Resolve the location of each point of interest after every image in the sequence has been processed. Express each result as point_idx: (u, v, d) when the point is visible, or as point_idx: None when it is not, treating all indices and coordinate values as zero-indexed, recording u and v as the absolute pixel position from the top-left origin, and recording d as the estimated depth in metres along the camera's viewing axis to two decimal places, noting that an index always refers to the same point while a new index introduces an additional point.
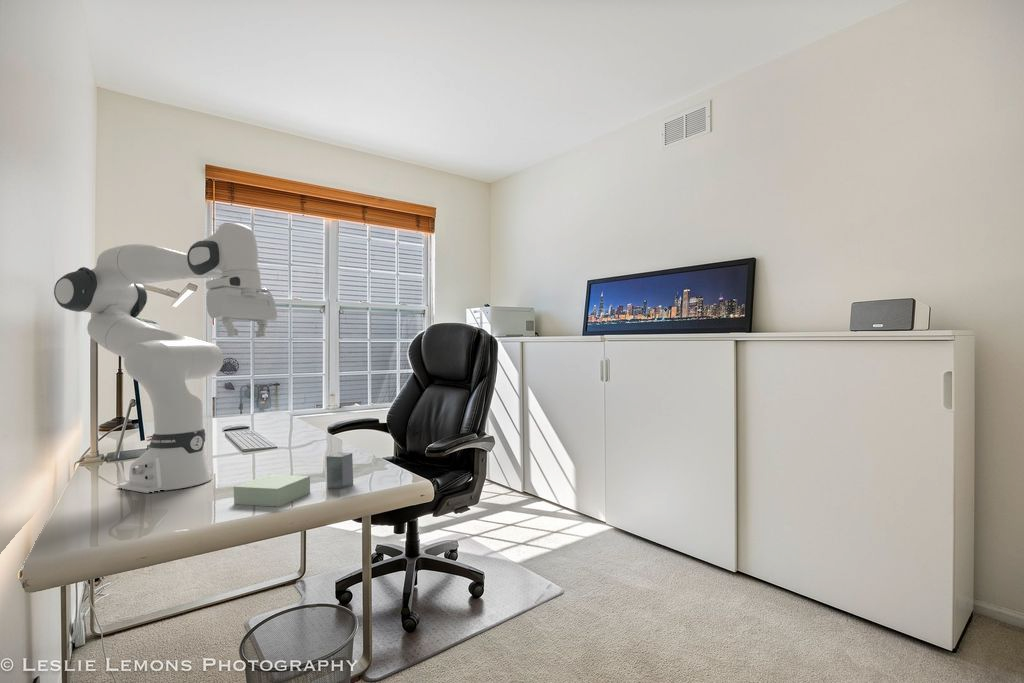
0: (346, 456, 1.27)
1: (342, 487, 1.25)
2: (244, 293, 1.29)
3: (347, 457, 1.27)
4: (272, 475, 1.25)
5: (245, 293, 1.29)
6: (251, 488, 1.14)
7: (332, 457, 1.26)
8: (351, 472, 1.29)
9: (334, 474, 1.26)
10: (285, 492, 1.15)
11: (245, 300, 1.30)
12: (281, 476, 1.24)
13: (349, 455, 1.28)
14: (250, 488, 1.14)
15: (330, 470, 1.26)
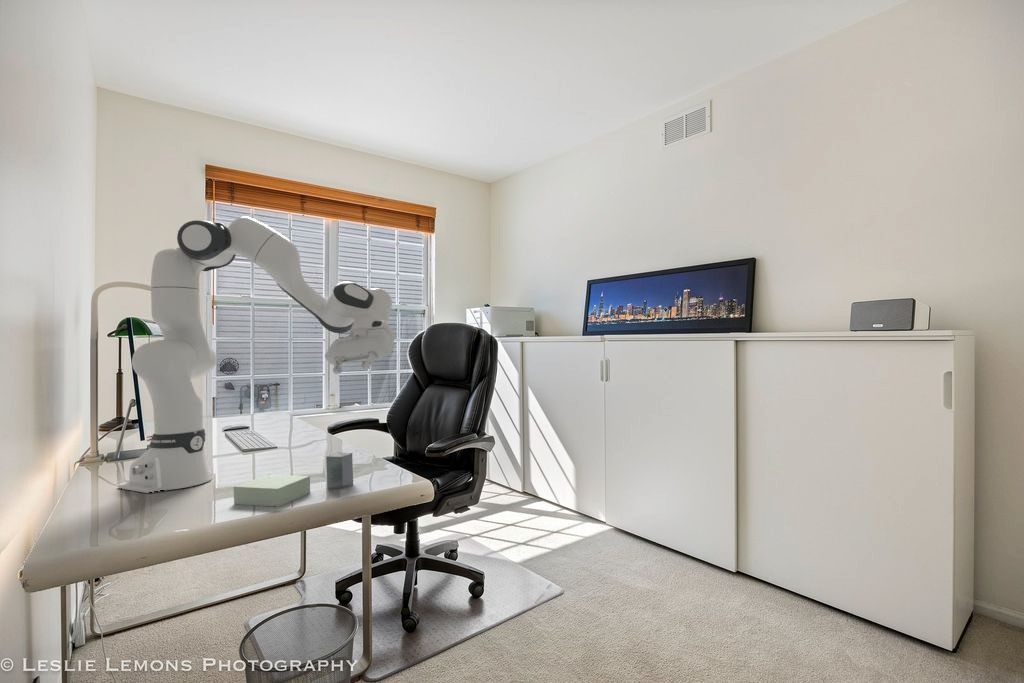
0: (346, 456, 1.27)
1: (342, 487, 1.25)
2: None
3: (347, 457, 1.27)
4: (272, 475, 1.25)
5: None
6: (251, 488, 1.14)
7: (332, 457, 1.26)
8: (351, 472, 1.29)
9: (334, 474, 1.26)
10: (285, 492, 1.15)
11: None
12: (281, 476, 1.24)
13: (349, 455, 1.28)
14: (250, 488, 1.14)
15: (330, 470, 1.26)
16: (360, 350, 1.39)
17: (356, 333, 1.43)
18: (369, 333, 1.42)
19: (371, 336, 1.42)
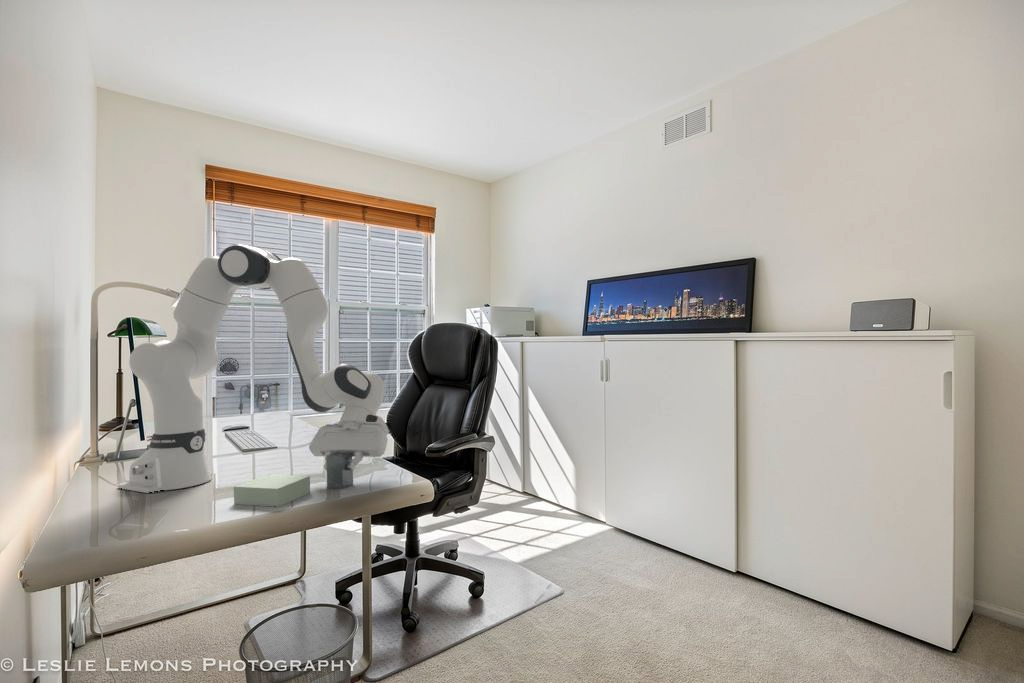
0: (346, 456, 1.27)
1: (342, 487, 1.25)
2: None
3: (347, 457, 1.27)
4: (272, 475, 1.25)
5: None
6: (251, 488, 1.14)
7: (332, 457, 1.26)
8: (351, 472, 1.29)
9: (334, 474, 1.26)
10: (285, 492, 1.15)
11: None
12: (281, 476, 1.24)
13: (349, 455, 1.28)
14: (250, 488, 1.14)
15: (330, 470, 1.26)
16: (352, 447, 1.29)
17: (347, 426, 1.33)
18: (362, 428, 1.33)
19: (364, 431, 1.33)
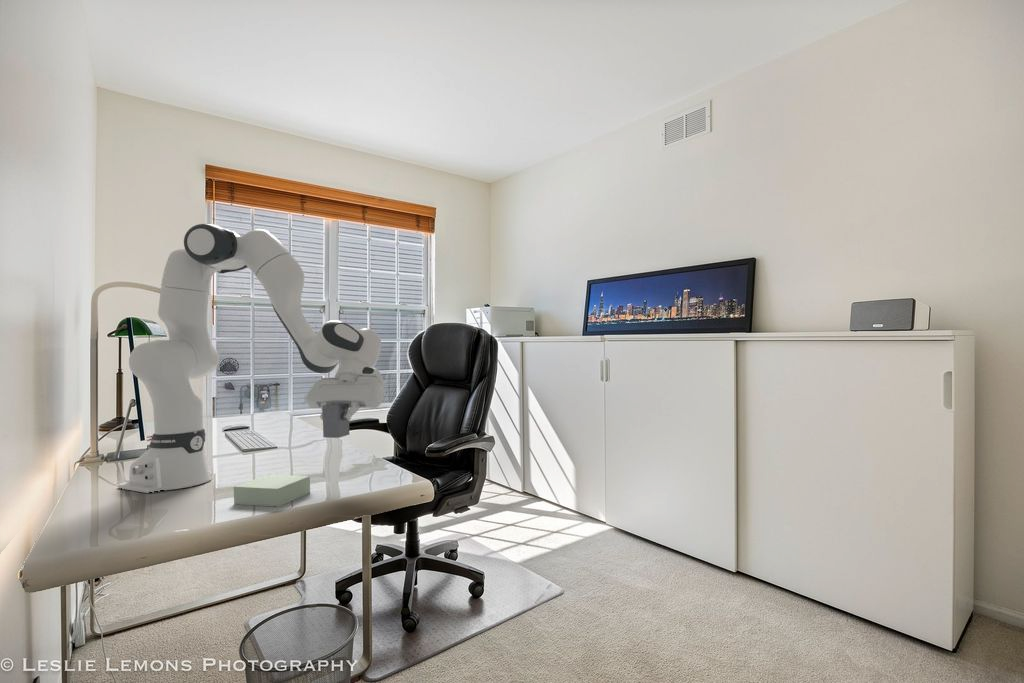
0: (342, 406, 1.27)
1: (338, 436, 1.25)
2: None
3: (343, 407, 1.27)
4: (272, 475, 1.25)
5: None
6: (251, 488, 1.14)
7: (328, 406, 1.26)
8: (347, 422, 1.29)
9: (330, 423, 1.26)
10: (285, 492, 1.15)
11: None
12: (281, 476, 1.24)
13: (345, 405, 1.28)
14: (250, 488, 1.14)
15: (326, 419, 1.26)
16: (348, 397, 1.29)
17: (344, 378, 1.33)
18: (359, 380, 1.33)
19: (360, 383, 1.33)
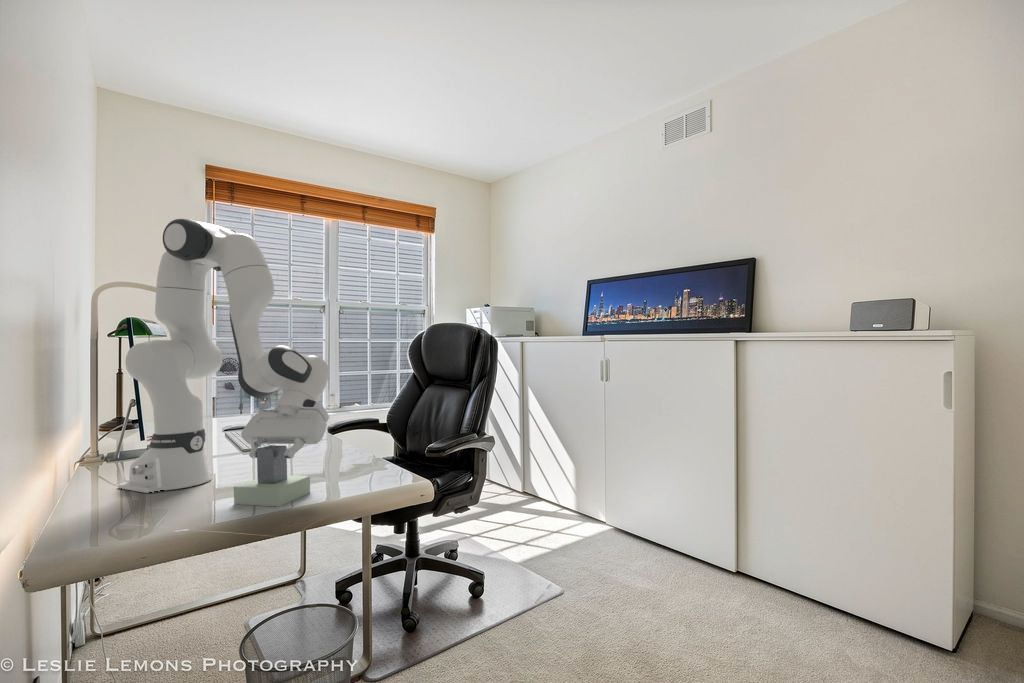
0: (278, 449, 1.18)
1: (273, 482, 1.17)
2: None
3: (279, 450, 1.19)
4: None
5: None
6: (251, 488, 1.14)
7: (263, 450, 1.17)
8: (285, 466, 1.20)
9: (265, 468, 1.17)
10: (285, 492, 1.15)
11: None
12: None
13: (282, 448, 1.20)
14: (250, 488, 1.14)
15: (260, 464, 1.17)
16: (286, 433, 1.21)
17: (283, 411, 1.24)
18: (299, 413, 1.24)
19: (300, 417, 1.24)
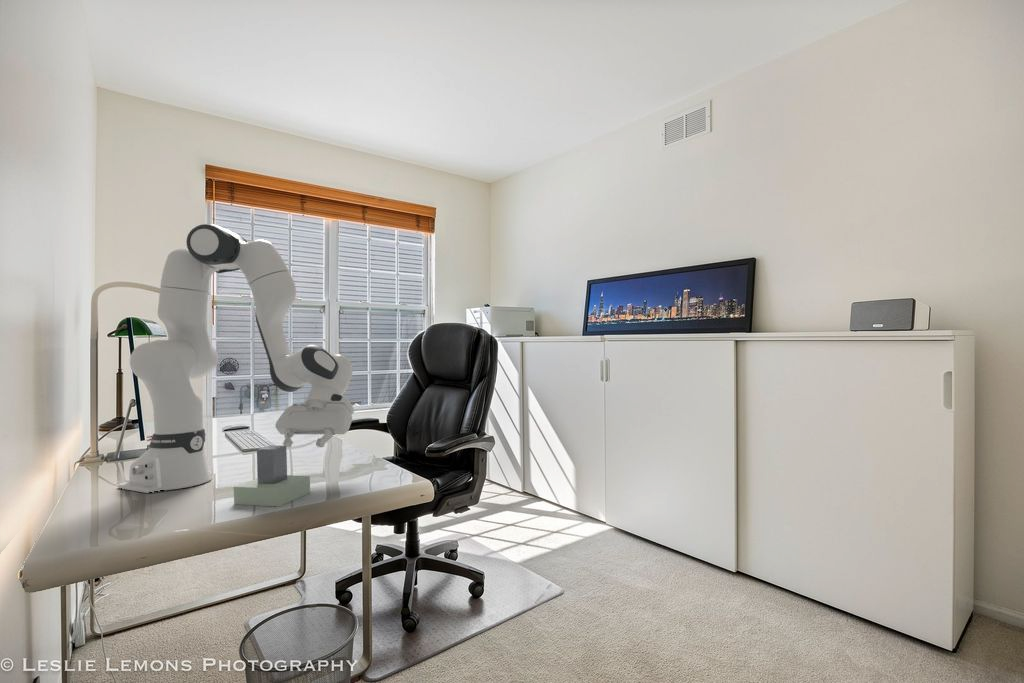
0: (278, 449, 1.18)
1: (273, 482, 1.17)
2: None
3: (279, 450, 1.19)
4: None
5: None
6: (251, 488, 1.14)
7: (263, 450, 1.17)
8: (285, 466, 1.20)
9: (265, 468, 1.17)
10: (285, 492, 1.15)
11: None
12: None
13: (282, 448, 1.20)
14: (250, 488, 1.14)
15: (260, 464, 1.17)
16: (316, 425, 1.33)
17: (313, 405, 1.37)
18: (327, 407, 1.36)
19: (329, 410, 1.36)
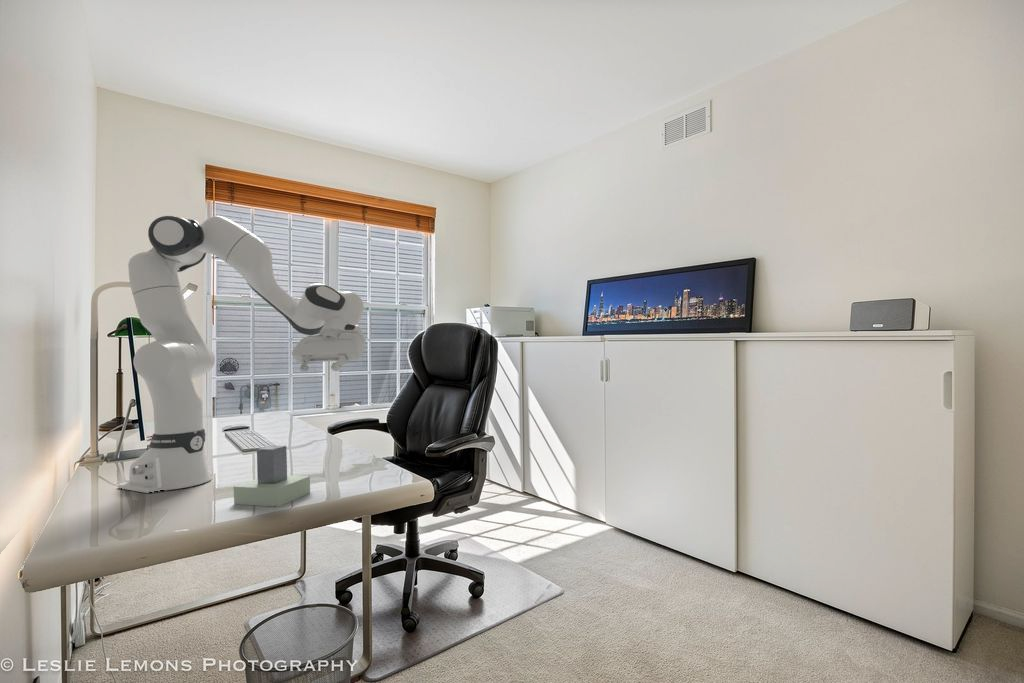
0: (278, 449, 1.18)
1: (273, 482, 1.17)
2: None
3: (279, 450, 1.19)
4: None
5: None
6: (251, 488, 1.14)
7: (263, 450, 1.17)
8: (285, 466, 1.20)
9: (265, 468, 1.17)
10: (285, 492, 1.15)
11: None
12: None
13: (282, 448, 1.20)
14: (250, 488, 1.14)
15: (260, 464, 1.17)
16: (331, 351, 1.40)
17: (327, 334, 1.44)
18: (341, 335, 1.44)
19: (343, 339, 1.44)
